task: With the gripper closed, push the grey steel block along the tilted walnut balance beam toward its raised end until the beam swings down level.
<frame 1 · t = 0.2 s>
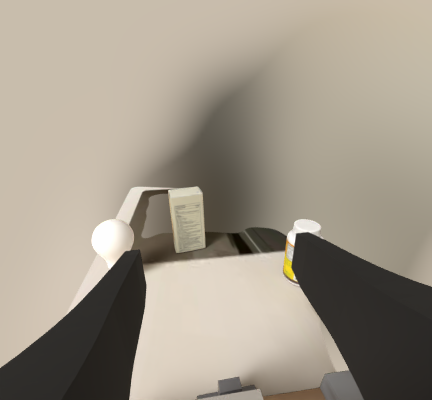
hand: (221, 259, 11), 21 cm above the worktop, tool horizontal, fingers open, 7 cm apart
lightbulb: (121, 279, 41), on the worktop
skincare box: (188, 246, 50), on the worktop
supplement bottle: (298, 278, 41), on the worktop
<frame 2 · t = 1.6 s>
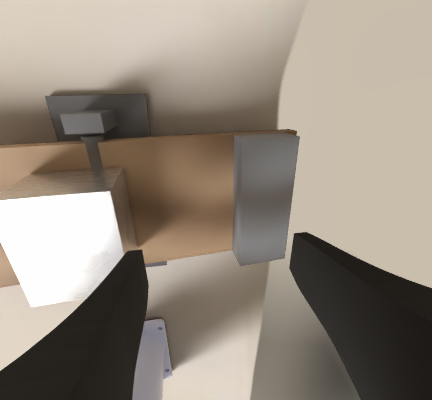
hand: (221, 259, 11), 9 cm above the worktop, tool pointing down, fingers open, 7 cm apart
stand: (118, 192, 19), on the worktop
steel block: (90, 215, 15), point 4 cm above the worktop, touching beam
beam: (106, 216, 15), point 4 cm above the worktop, hinge at 4.5°, touching steel block
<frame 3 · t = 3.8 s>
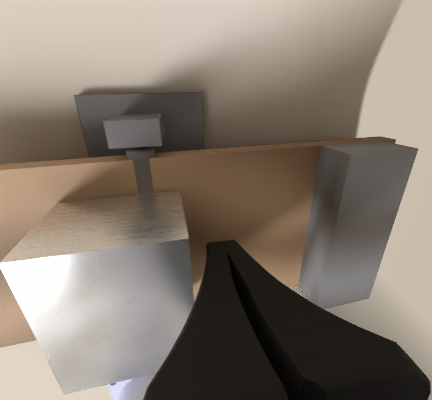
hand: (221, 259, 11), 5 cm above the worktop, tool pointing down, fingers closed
stand: (158, 215, 15), on the worktop
steel block: (133, 252, 11), point 4 cm above the worktop, touching beam, gripper
beam: (154, 253, 11), point 4 cm above the worktop, hinge at 4.5°, touching steel block
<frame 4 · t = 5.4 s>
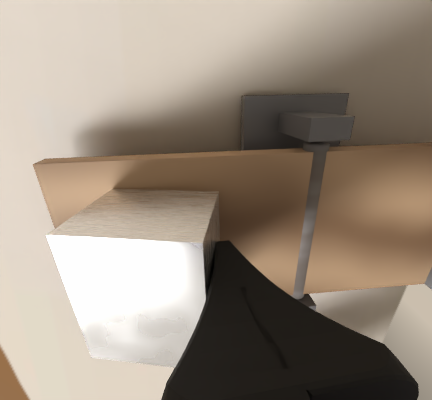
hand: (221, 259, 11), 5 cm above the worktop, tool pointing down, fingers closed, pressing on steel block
stand: (282, 206, 16), on the worktop
steel block: (170, 245, 12), point 4 cm above the worktop, tilted 16°, touching gripper
beam: (311, 237, 13), point 4 cm above the worktop, hinge at -4.0°
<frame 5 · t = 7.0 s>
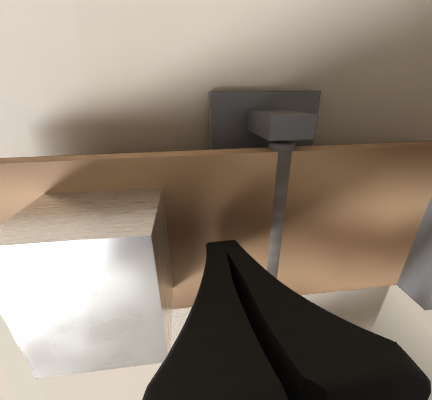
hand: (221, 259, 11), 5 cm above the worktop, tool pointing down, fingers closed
stand: (256, 207, 16), on the worktop
steel block: (116, 246, 12), point 3 cm above the worktop, touching beam
beam: (279, 240, 12), point 4 cm above the worktop, hinge at -1.9°, touching steel block
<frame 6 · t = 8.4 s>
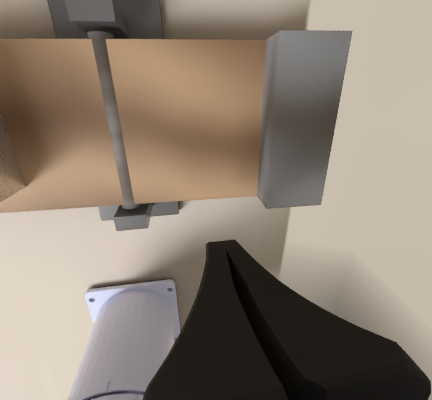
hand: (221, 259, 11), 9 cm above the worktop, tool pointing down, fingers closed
stand: (127, 125, 17), on the worktop
beam: (113, 134, 13), point 4 cm above the worktop, hinge at -1.9°, touching steel block
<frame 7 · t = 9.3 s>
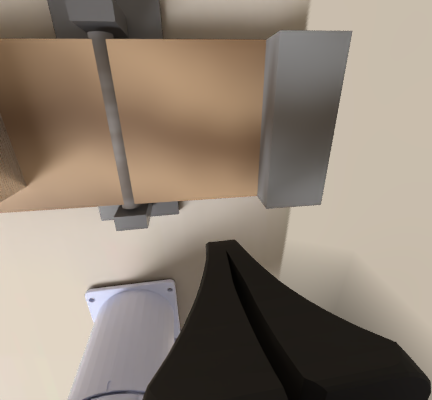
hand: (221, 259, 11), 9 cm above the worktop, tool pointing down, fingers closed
stand: (127, 125, 17), on the worktop
beam: (113, 134, 13), point 4 cm above the worktop, hinge at -1.9°, touching steel block
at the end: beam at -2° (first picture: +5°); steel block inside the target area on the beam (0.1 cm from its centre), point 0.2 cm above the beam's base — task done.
